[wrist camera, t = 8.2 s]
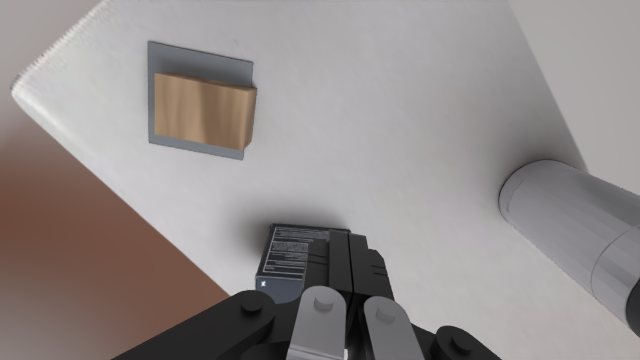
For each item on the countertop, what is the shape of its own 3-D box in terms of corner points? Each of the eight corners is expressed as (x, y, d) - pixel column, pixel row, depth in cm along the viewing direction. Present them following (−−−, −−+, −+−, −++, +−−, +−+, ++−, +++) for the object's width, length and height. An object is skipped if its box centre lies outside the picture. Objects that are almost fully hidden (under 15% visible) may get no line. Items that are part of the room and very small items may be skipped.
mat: (253, 63, 33) (252, 63, 32) (243, 159, 37) (242, 160, 36) (149, 42, 32) (147, 41, 32) (150, 142, 36) (148, 142, 36)
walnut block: (248, 91, 30) (154, 73, 29) (242, 150, 32) (154, 134, 31) (257, 88, 33) (174, 72, 33) (251, 141, 35) (173, 126, 35)
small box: (269, 263, 42) (252, 324, 32) (270, 222, 40) (252, 274, 30) (346, 270, 42) (351, 332, 32) (351, 229, 40) (359, 283, 30)
